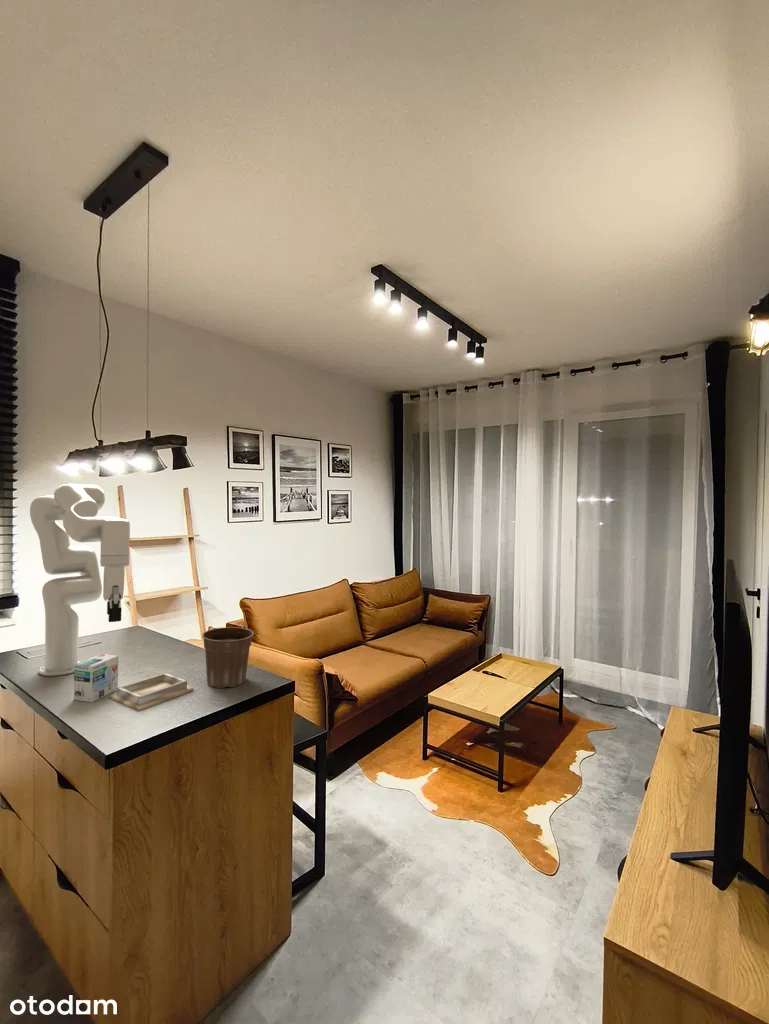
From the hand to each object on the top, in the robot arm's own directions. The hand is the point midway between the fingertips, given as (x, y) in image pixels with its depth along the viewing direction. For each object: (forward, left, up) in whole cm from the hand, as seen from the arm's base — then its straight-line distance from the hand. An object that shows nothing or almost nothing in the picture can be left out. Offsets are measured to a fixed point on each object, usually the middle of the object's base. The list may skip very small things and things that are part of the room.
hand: (113, 617), depth 145 cm
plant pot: (+17, +28, -24) cm, 41 cm away
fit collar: (+7, +8, -24) cm, 26 cm away
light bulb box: (-6, -2, -24) cm, 25 cm away
